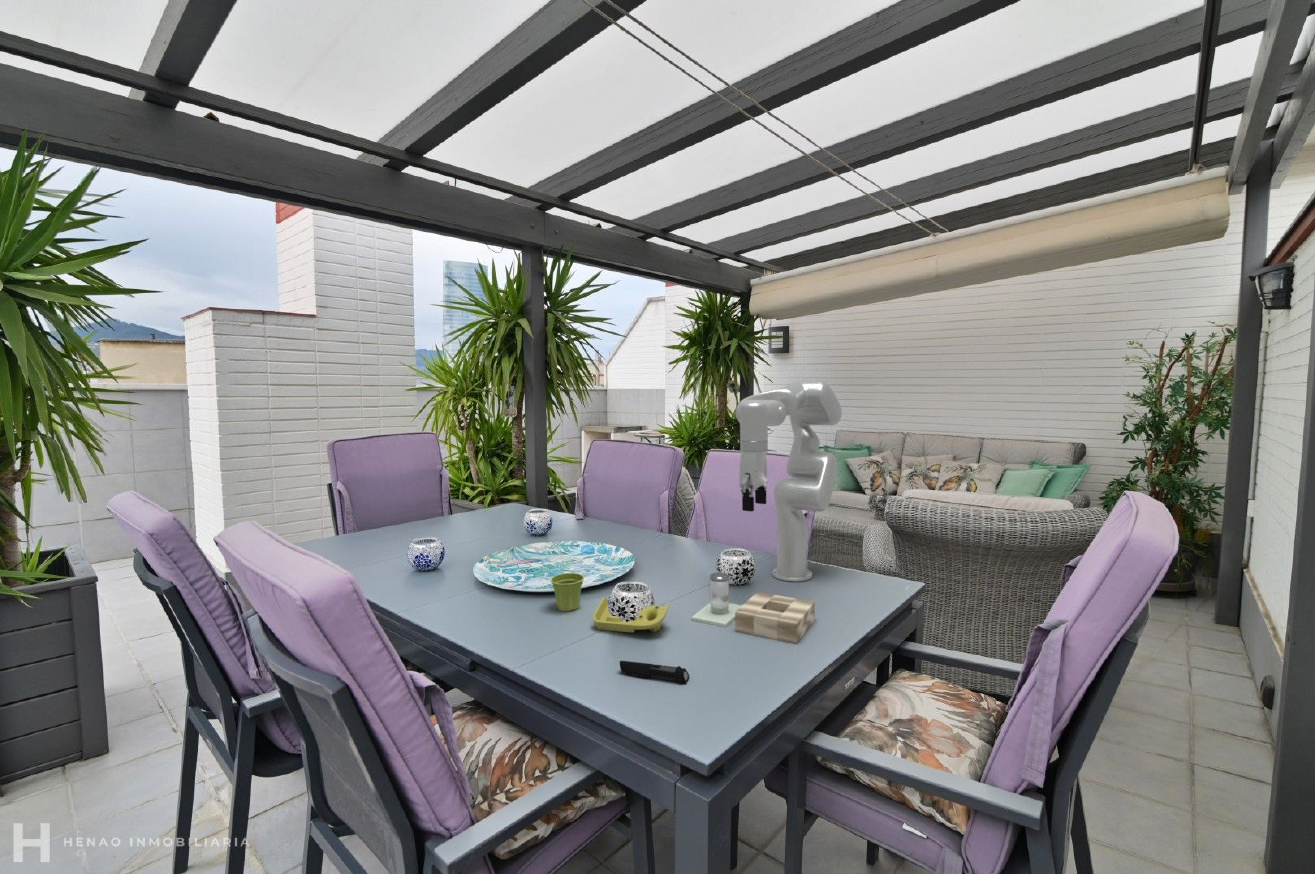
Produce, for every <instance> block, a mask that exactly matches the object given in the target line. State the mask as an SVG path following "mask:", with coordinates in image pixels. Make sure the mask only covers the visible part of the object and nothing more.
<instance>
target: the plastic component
mask: <svg viewBox="0 0 1315 874" xmlns="http://www.w3.org/2000/svg"><path fill="white" fill-rule="evenodd" d="M608 601H609V600H608V598H605V597H603V598H602V599H601V601H600V603H599V605H598V607H597V608H596V610H595V612H594V613H593V616H592V618H593V621H594V623H595V626H596V627H597V629H599V630H602V631H611V632H624V633H634V632H635V631H636V630H649V631H650V632H653V633H654V632H657V631H660V630H661V629H660V628H661V627H662V623H663V622H664V620H665V618H666V616H667V613H668V610H669V607H670V605H671V602H667V604H666V606H664V605H663V606H661V605H658V604H657V605H649V606H646V607H644V608H642V609H643V610H641V611H640V613H639V615H638V617H637V619H636V620H634V621H628V622H626V621H625V622H624V621H620V618H619V617H617V616H611V614H610V613H609V611H608ZM641 617H642V618H641Z"/></svg>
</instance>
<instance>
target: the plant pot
mask: <svg viewBox="0 0 1315 874" xmlns="http://www.w3.org/2000/svg"><path fill="white" fill-rule="evenodd" d="M584 580H585V576H584V575H583V574H580V573H576V572H564V573H559V574H556V575H554V576H552V577H551V578H550V583H551V585H552V587H553V590H554V595H555V600H556V601H555V602H556V606H557V609H558V610H559V611H560V612H570V611H574V610H575V611H576V610H578V609H579V608H580V604H581V603H580V602H581V601H580V600H581V595H582V594H581V592H582V586H583V582H584Z"/></svg>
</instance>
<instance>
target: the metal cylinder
mask: <svg viewBox="0 0 1315 874" xmlns="http://www.w3.org/2000/svg"><path fill="white" fill-rule="evenodd" d="M729 576H730V575H729V574H728V573H725V572H713V573H711V574H710V575H709V585H710V586H709V593H710V594H709V595H710V597H709V598H710V600H709V601H710V602H709V603H710V609H711V613H713V614H716V615H725V614H727V613H728V612H729V603H730V599H729V598H730V589H729V588H730V583H729V582H730V577H729Z"/></svg>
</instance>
